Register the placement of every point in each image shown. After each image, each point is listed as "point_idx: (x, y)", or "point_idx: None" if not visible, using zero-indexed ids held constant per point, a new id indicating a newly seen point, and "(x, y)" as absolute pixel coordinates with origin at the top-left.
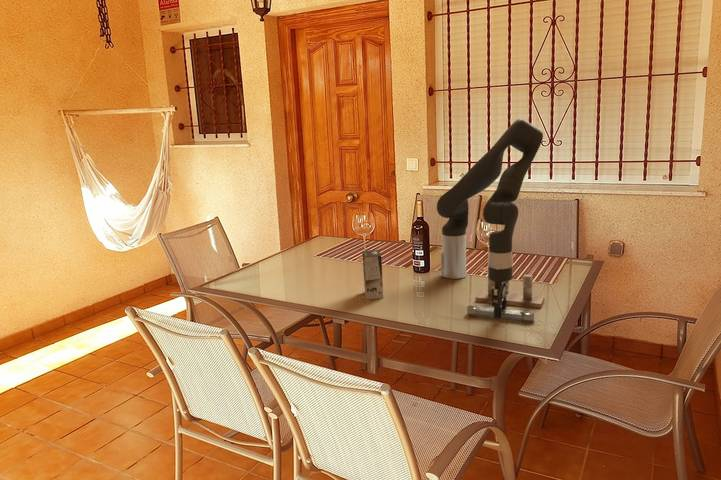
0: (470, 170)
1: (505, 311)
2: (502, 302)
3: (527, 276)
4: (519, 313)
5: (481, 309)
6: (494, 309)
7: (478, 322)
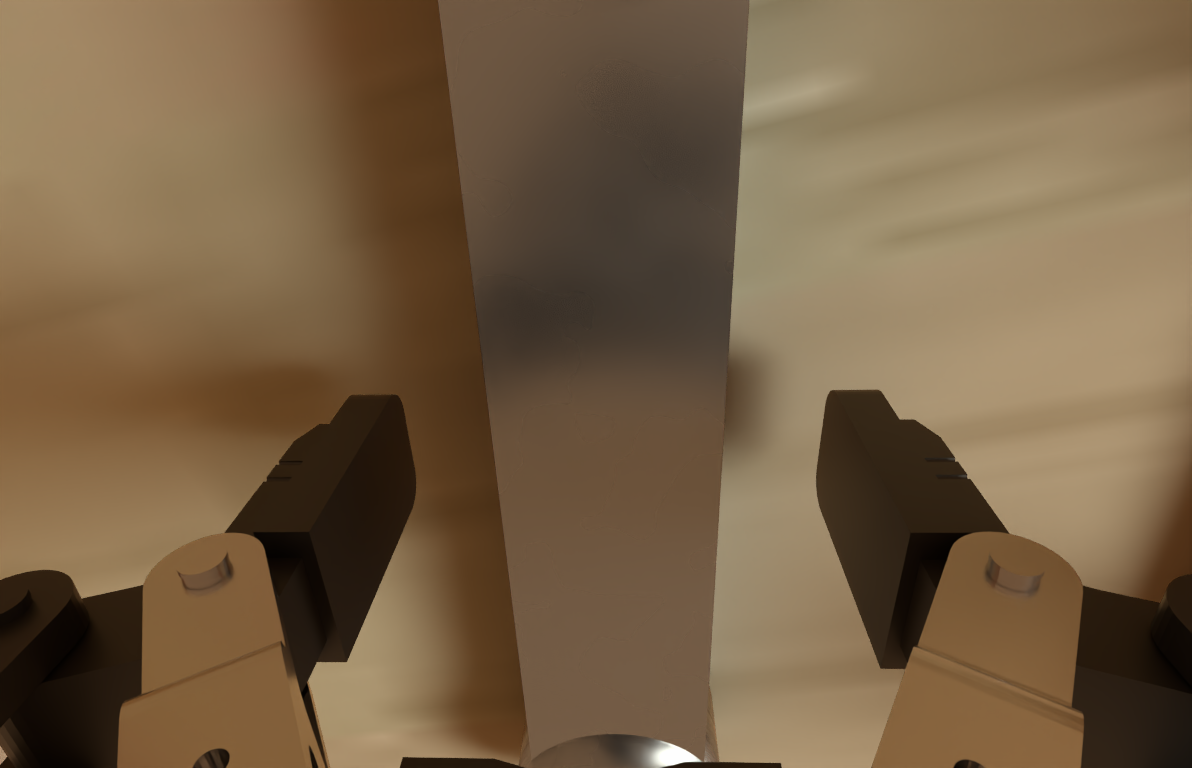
0: None
1: (588, 561)
2: (867, 537)
3: None
4: (578, 733)
5: (523, 65)
6: (285, 498)
7: (204, 86)
